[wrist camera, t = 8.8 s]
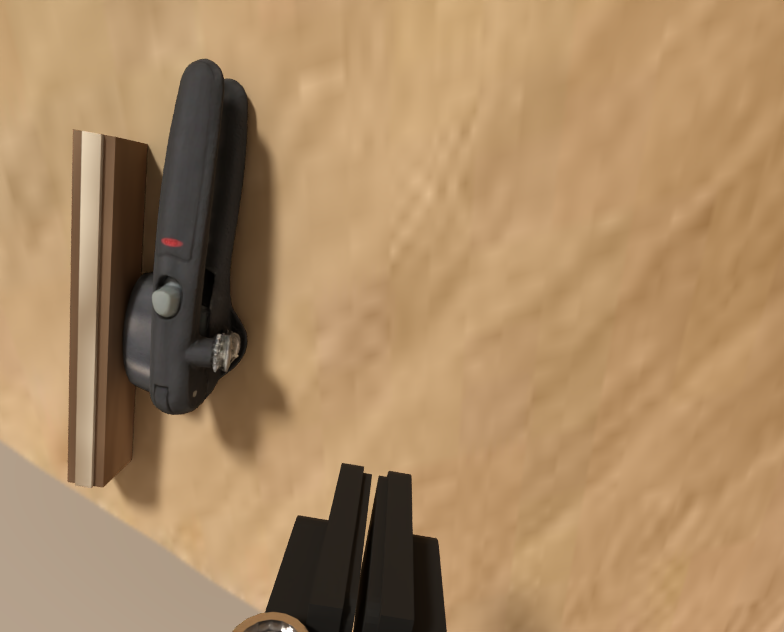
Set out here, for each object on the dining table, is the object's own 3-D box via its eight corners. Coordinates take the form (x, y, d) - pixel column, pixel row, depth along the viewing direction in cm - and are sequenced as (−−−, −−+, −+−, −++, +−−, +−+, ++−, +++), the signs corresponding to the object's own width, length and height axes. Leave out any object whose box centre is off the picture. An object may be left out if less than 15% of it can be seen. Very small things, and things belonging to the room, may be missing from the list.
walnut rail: (147, 144, 26) (112, 136, 22) (131, 459, 30) (100, 489, 27) (110, 137, 26) (70, 128, 22) (99, 454, 30) (65, 483, 27)
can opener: (247, 398, 29) (213, 444, 24) (133, 373, 29) (72, 414, 23) (301, 93, 25) (275, 63, 20) (169, 60, 25) (105, 20, 19)
